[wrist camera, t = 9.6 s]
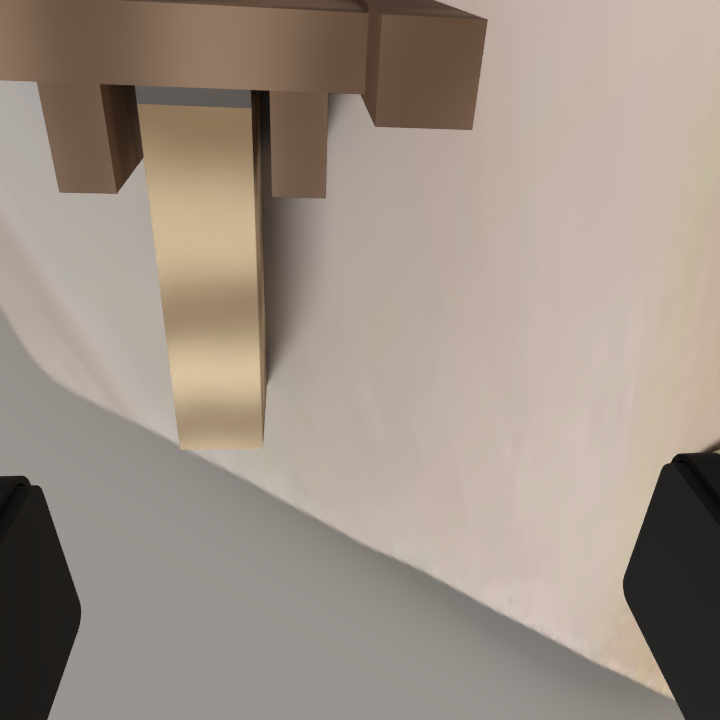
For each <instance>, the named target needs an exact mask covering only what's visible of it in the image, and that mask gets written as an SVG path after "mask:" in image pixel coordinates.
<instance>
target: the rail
mask: <svg viewBox="0 0 720 720" xmlns="http://www.w3.org/2000/svg"><path fill="white" fill-rule="evenodd" d="M135 91H136V99H137V107H138V115H139V123H140V131H141V139H142V147H143V155H144V163H145V171H146V179H147V187H148V195H149V203H150V211H151V219H152V227H153V235H154V243H155V251H156V259H157V267H158V275H159V283H160V291H161V299H162V307H163V315H164V323H165V331H166V339H167V347H168V356H169V364H170V372H171V380H172V388H173V396H174V404H175V412H176V420H177V428H178V436H179V444H180V449H182V450H185V449H263V437H264V422H265V407H266V391H267V370H266V333H265V296H264V259H263V222H262V185H261V148H260V111H259V90H241V89H215V88H189V87H164V86H138V85H135Z"/></svg>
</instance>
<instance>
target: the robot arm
mask: <svg viewBox="0 0 720 720" xmlns="http://www.w3.org/2000/svg"><path fill="white" fill-rule="evenodd" d="M623 590H624V595H625V599H626V601H627V604H628V606H629V608H630V610H631V612H632V614H633V616H634V618H635V620H636V622H637V624H638V626H639V628H640V630H641V632H642V634H643V636H644V638H645V640H646V642H647V644H648V646H649V648H650V650H651V652H652V654H653V656H654V658H655V660H656V662H657V664H658V666H659V668H660V670H661V672H662V674H663V676H664V678H665V680H666V682H667V684H668V686H669V688H670V690H671V692H672V694H673V696H674V698H675V700H676V702H677V704H678V706H679V708H680V710H681V712H682V714H683V716H684V718H685V720H720V449H719V450H716V451H714V452H712V453H684V454H677V455H676V456H675V457H674V458H673V460H672V462H671V463H669V464H666V465H664V466H663V468H662V470H661V473H660V475H659V478H658V481H657V484H656V487H655V490H654V493H653V495H652V498H651V501H650V504H649V507H648V510H647V513H646V515H645V518H644V521H643V524H642V527H641V530H640V533H639V535H638V538H637V541H636V544H635V547H634V550H633V553H632V555H631V558H630V561H629V564H628V567H627V570H626V573H625V575H624V579H623ZM80 619H81V605H80V601H79V598H78V595H77V592H76V589H75V586H74V583H73V580H72V577H71V574H70V571H69V568H68V565H67V562H66V559H65V556H64V553H63V550H62V548H61V544H60V541H59V538H58V536H57V532H56V530H55V526H54V523H53V520H52V517H51V514H50V511H49V508H48V505H47V503H46V500H45V497H44V494H43V491H42V489H41V488H40V487H39V486H37V485H31V484H30V482H29V480H28V479H27V478H26V477H25V476H0V720H47V719H48V716H49V713H50V710H51V707H52V704H53V701H54V698H55V695H56V693H57V690H58V687H59V684H60V681H61V678H62V675H63V672H64V670H65V667H66V664H67V661H68V658H69V655H70V652H71V649H72V646H73V644H74V641H75V638H76V635H77V632H78V629H79V625H80Z"/></svg>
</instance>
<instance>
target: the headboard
mask: <svg viewBox="0 0 720 720" xmlns="http://www.w3.org/2000/svg"><path fill="white" fill-rule="evenodd" d="M487 21H488V20H487V19H484V18H482V17H479V16H476V15H473V14H471V13H468V12H465V11H462V10H460V9H457V8H454V7H451V6H448V5H446V4H443V3H440V2H437V1H435V0H0V80H9V81H35V82H37V85H38V90H39V95H40V100H41V105H42V110H43V114H44V119H45V124H46V129H47V134H48V139H49V144H50V148H51V153H52V158H53V163H54V168H55V173H56V178H57V182H58V187H59V192H62V193H107V194H117V193H118V191H119V190H120V189H121V187H122V186H123V185H124V183H125V182H126V180H127V179H128V178H129V176H130V175H131V174H132V172H133V171H134V170H135V168H136V167H137V165H138V164H139V163H140V161H141V160H142V159H143V157H144V155H143V147H142V139H141V131H140V123H139V115H138V107H137V99H136V91H135V85H138V86H164V87H189V88H215V89H241V90H266V91H270V132H271V175H272V197H286V198H326V164H327V120H328V93H344V94H361V96H362V99H363V101H364V103H365V105H366V108H367V110H368V112H369V114H370V116H371V119H372V121H373V123H374V125H375V127H400V128H429V129H459V130H472V127H473V120H474V113H475V106H476V99H477V92H478V84H479V77H480V70H481V63H482V56H483V49H484V42H485V35H486V28H487Z"/></svg>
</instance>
